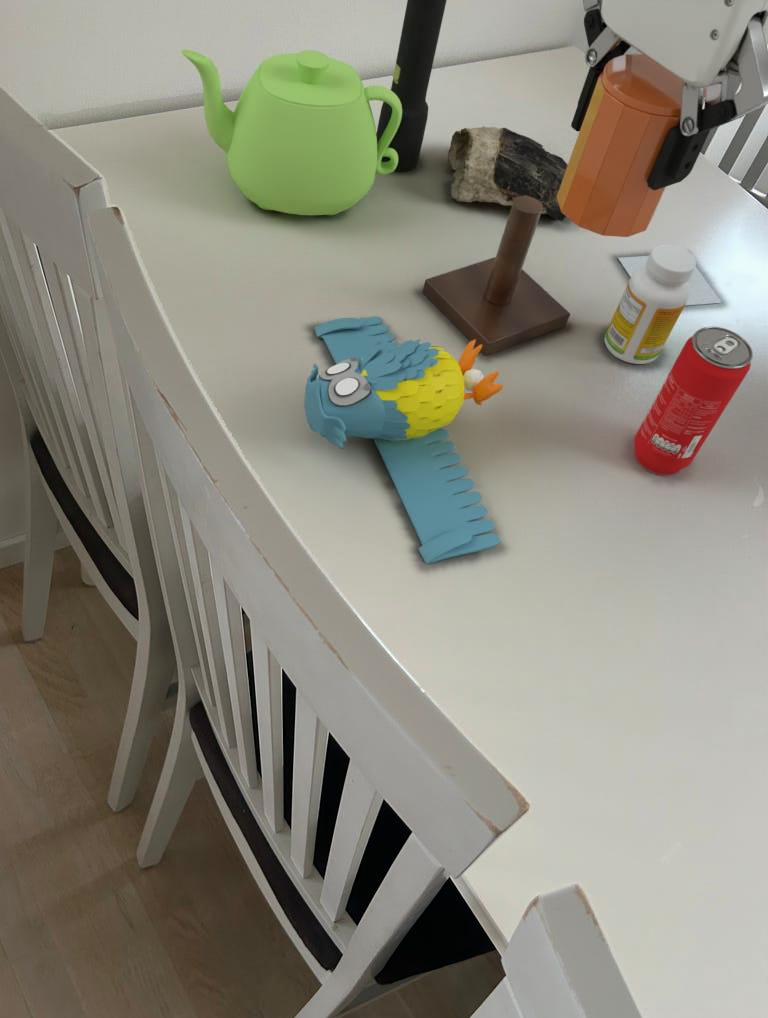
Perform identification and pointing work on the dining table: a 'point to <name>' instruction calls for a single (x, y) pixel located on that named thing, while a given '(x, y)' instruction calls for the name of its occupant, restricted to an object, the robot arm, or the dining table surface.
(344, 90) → the teapot
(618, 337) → the supplement bottle
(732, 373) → the beverage can
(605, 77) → the cup
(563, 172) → the mineral specimen
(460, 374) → the owl figurine
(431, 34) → the flashlight
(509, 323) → the cup stand
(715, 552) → the dining table surface
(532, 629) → the dining table surface
